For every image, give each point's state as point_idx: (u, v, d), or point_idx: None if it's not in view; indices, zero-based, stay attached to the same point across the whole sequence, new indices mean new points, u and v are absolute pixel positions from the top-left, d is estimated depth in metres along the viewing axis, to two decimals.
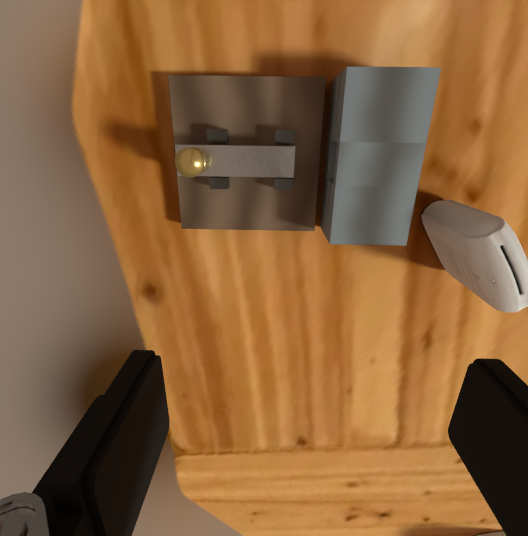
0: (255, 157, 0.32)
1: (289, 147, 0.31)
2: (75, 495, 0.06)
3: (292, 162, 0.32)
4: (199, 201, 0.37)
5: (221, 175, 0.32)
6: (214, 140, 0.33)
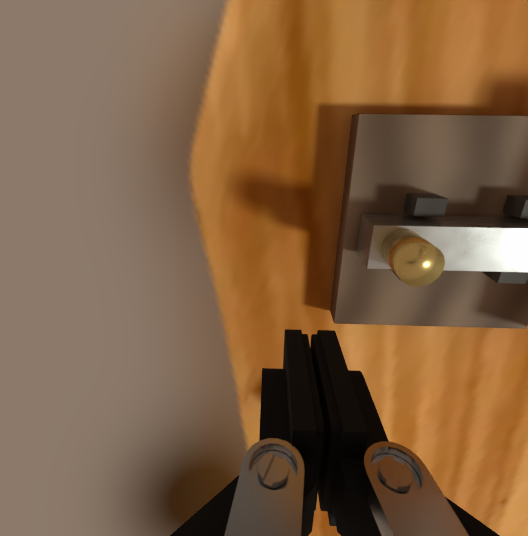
0: (497, 244, 0.20)
1: None
2: (310, 441, 0.07)
3: None
4: (368, 289, 0.25)
5: None
6: (425, 214, 0.21)
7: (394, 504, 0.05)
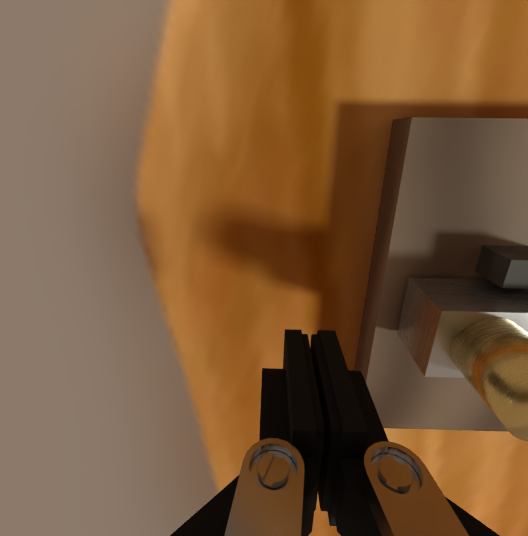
0: None
1: None
2: (309, 441, 0.07)
3: None
4: (411, 382, 0.17)
5: None
6: (521, 285, 0.12)
7: (394, 504, 0.05)
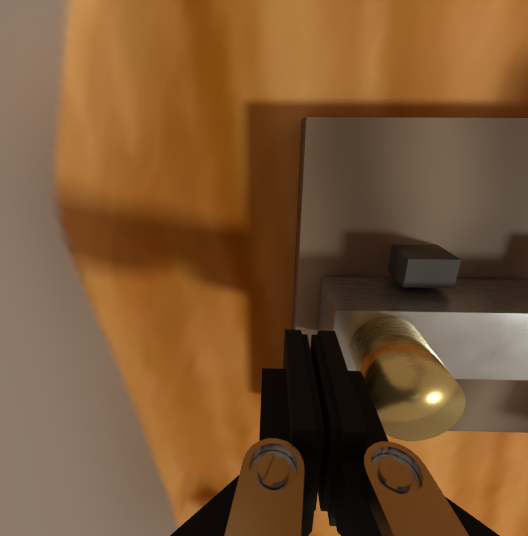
0: None
1: None
2: (309, 441, 0.07)
3: None
4: None
5: None
6: (422, 284, 0.12)
7: (394, 504, 0.05)
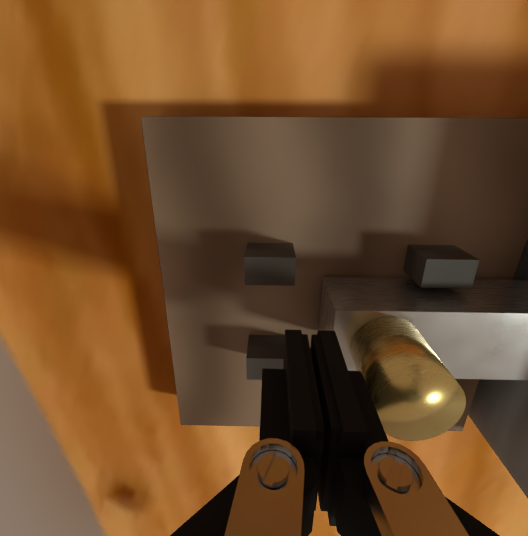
0: None
1: None
2: (309, 441, 0.07)
3: None
4: (219, 379, 0.17)
5: None
6: (263, 282, 0.13)
7: (394, 504, 0.05)
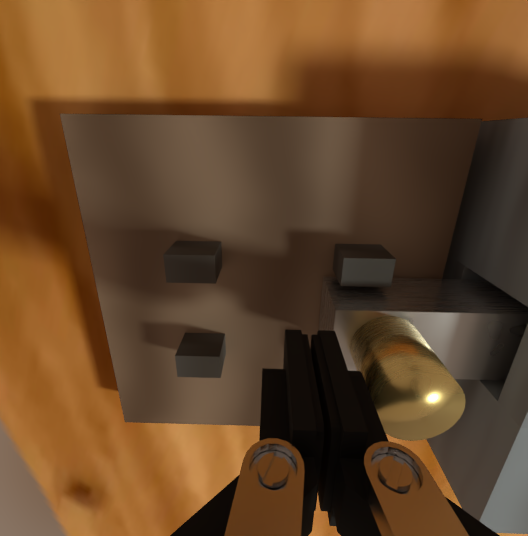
0: None
1: None
2: (310, 441, 0.07)
3: None
4: (159, 377, 0.17)
5: None
6: (184, 279, 0.13)
7: (394, 504, 0.05)
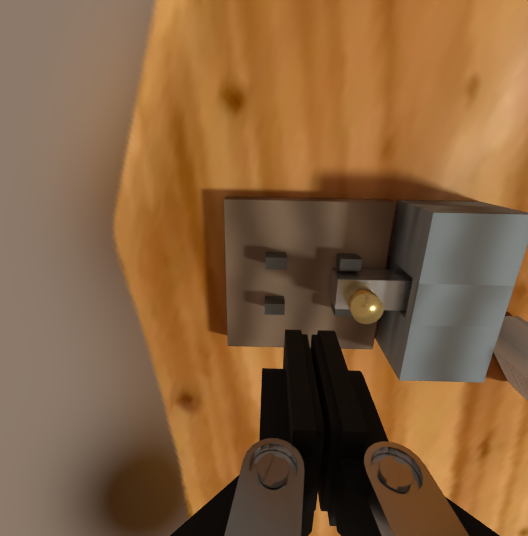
0: None
1: None
2: (309, 441, 0.07)
3: None
4: (249, 319, 0.34)
5: (383, 309, 0.29)
6: (273, 268, 0.30)
7: (394, 504, 0.05)
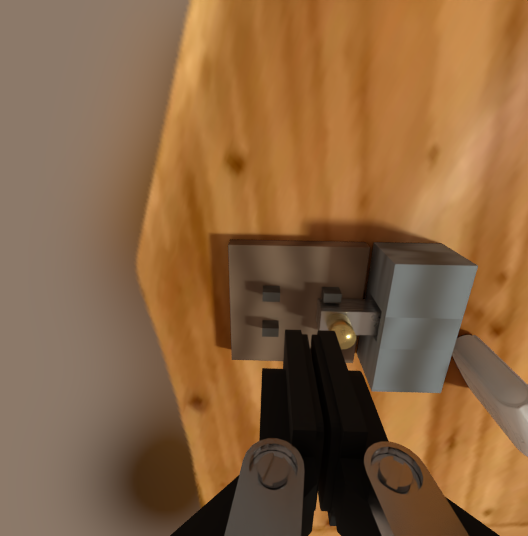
0: None
1: None
2: (310, 441, 0.07)
3: None
4: (249, 339, 0.40)
5: (359, 334, 0.36)
6: (268, 300, 0.36)
7: (394, 504, 0.05)
